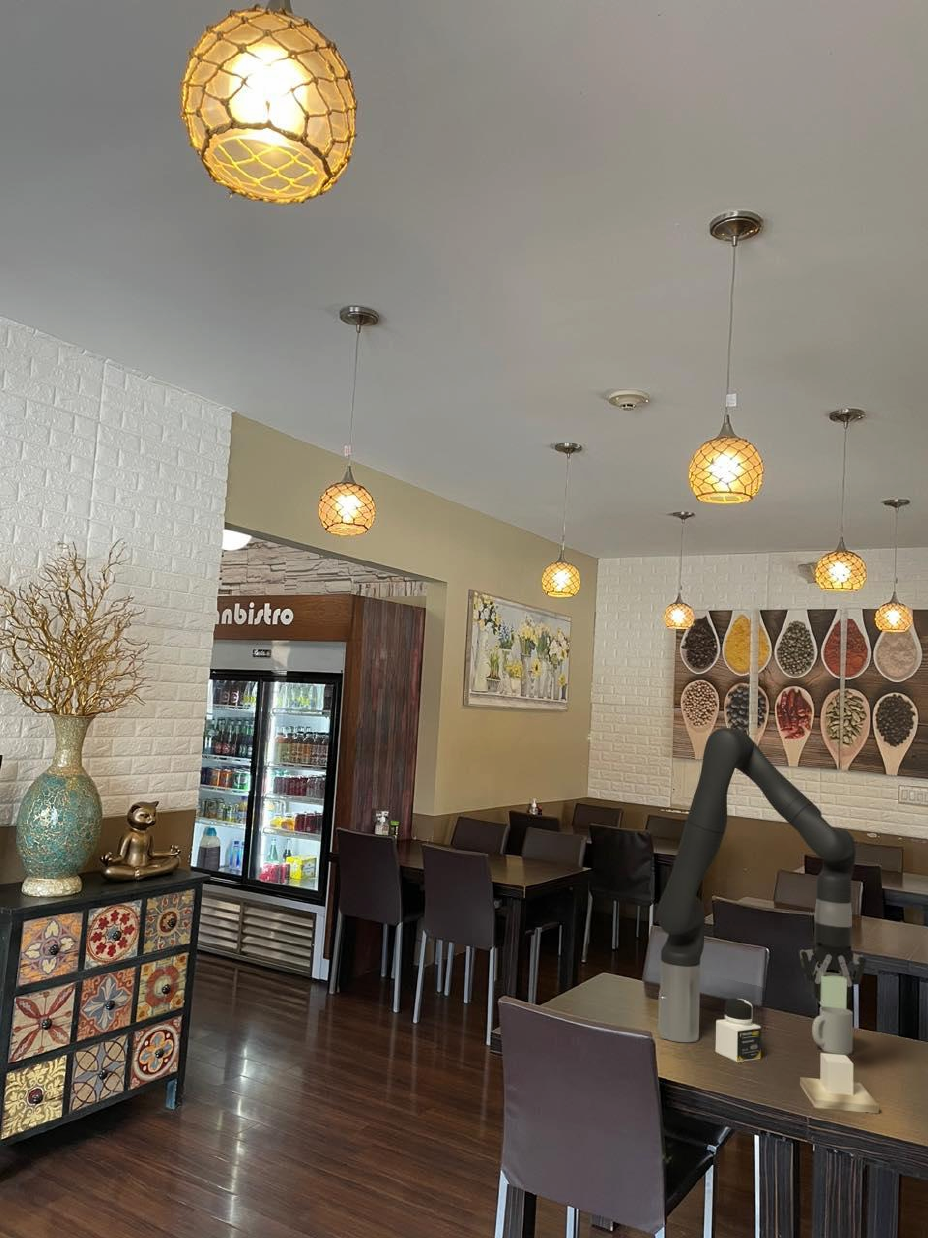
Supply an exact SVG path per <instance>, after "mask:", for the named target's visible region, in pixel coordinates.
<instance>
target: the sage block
mask: <svg viewBox="0 0 928 1238" xmlns="http://www.w3.org/2000/svg"><path fill="white" fill-rule="evenodd" d="M820 984H821V1001H820V1002H818V1003H819V1005H820V1007H821V1006H824V1007H834V1008H844V1009H847V1004H846V995H847V979H846V978H843V976H841V974H840V972H839V973H837V972H830V971H828V972H827V971H826V972H825V974H824V975H823V976H821V982H820Z"/></svg>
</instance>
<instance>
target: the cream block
mask: <svg viewBox="0 0 928 1238" xmlns="http://www.w3.org/2000/svg"><path fill="white" fill-rule="evenodd" d="M819 1075H820V1078H819V1079H820V1084H821V1085H822V1086H823V1088H824V1089H825V1090H826V1092H827V1093H836V1094H847V1095H853V1082H854V1063H853V1062H852V1061H851V1059H850V1058H849V1057H848V1056H847V1055H838V1054H832V1053H827V1052H826V1053H825V1052H820V1074H819Z"/></svg>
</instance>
